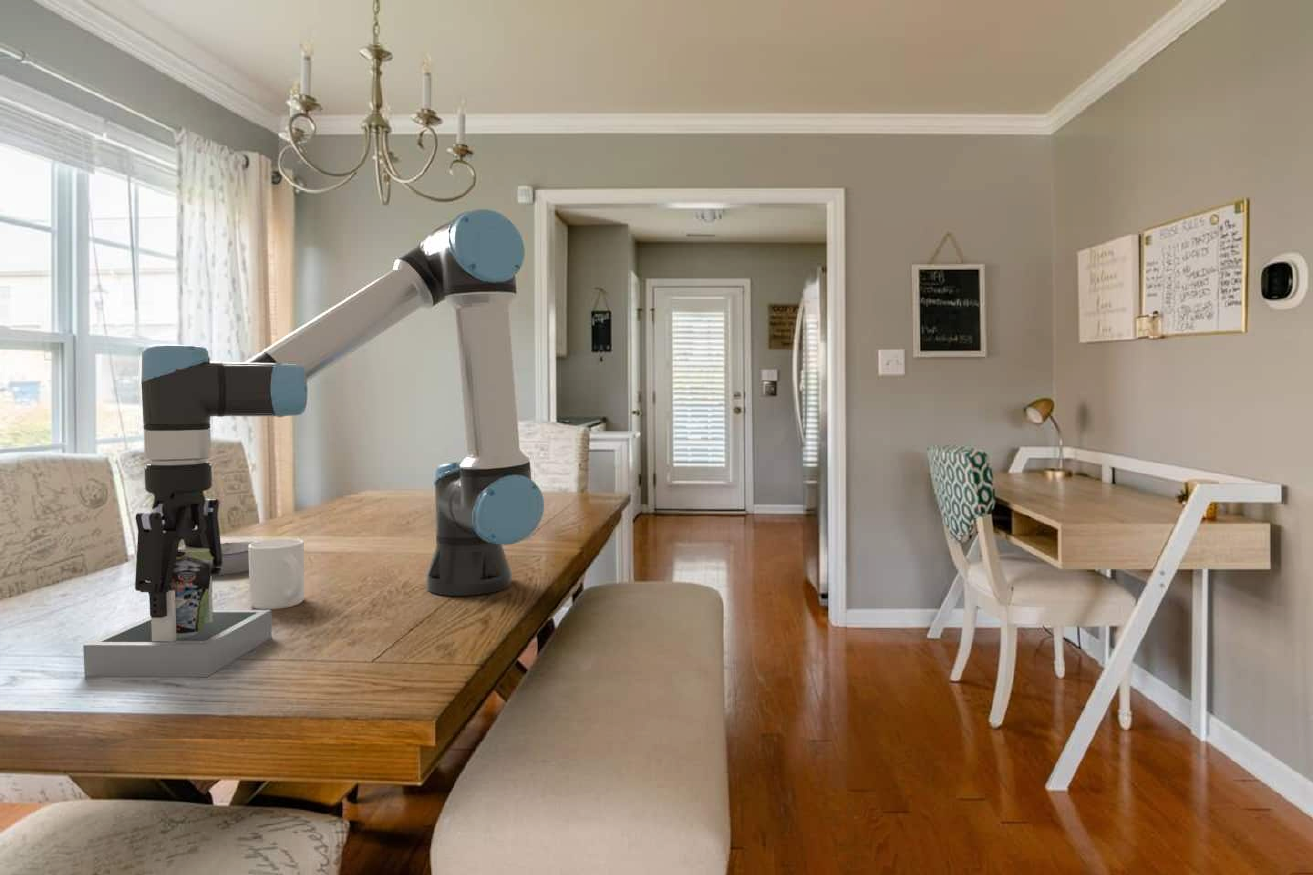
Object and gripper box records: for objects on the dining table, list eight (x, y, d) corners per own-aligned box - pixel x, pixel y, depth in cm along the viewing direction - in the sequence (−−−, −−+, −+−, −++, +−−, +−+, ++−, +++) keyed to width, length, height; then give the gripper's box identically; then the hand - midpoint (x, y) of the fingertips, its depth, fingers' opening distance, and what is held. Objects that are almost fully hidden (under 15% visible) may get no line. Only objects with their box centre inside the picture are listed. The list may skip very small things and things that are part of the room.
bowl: (253, 576, 145) (252, 551, 145) (179, 580, 142) (178, 554, 142) (271, 561, 157) (270, 538, 157) (204, 564, 155) (203, 541, 154)
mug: (324, 606, 124) (323, 545, 123) (273, 617, 118) (271, 553, 117) (291, 594, 132) (290, 536, 131) (241, 604, 125) (239, 543, 125)
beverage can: (140, 639, 98) (137, 549, 97) (193, 624, 105) (190, 540, 104) (172, 646, 96) (169, 554, 95) (224, 629, 103) (222, 543, 102)
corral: (271, 636, 108) (270, 609, 108) (207, 676, 93) (206, 645, 93) (166, 636, 108) (165, 609, 108) (84, 676, 93) (83, 645, 93)
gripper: (197, 455, 109) (202, 609, 110) (93, 468, 89) (99, 656, 90) (248, 455, 109) (252, 609, 110) (155, 469, 89) (161, 656, 90)
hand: (183, 630), depth 100 cm, fingers closed on beverage can, 7 cm apart
